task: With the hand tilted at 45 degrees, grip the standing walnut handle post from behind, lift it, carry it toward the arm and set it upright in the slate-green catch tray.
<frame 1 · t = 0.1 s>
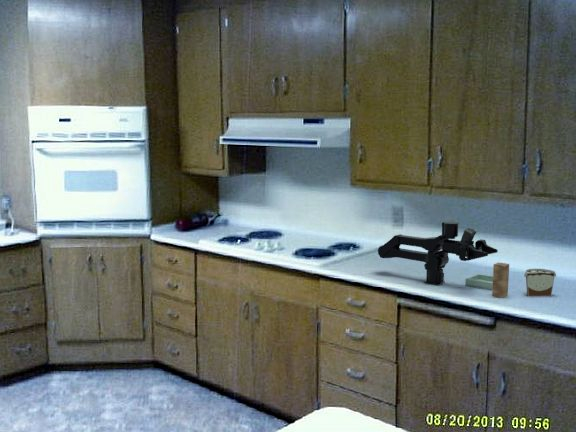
hand: (492, 252, 259), 17 cm above the worktop, tool horizontal, fingers open, 9 cm apart
catch tray: (484, 285, 273), on the worktop
food container: (536, 294, 259), on the worktop
walnut post: (499, 296, 257), on the worktop
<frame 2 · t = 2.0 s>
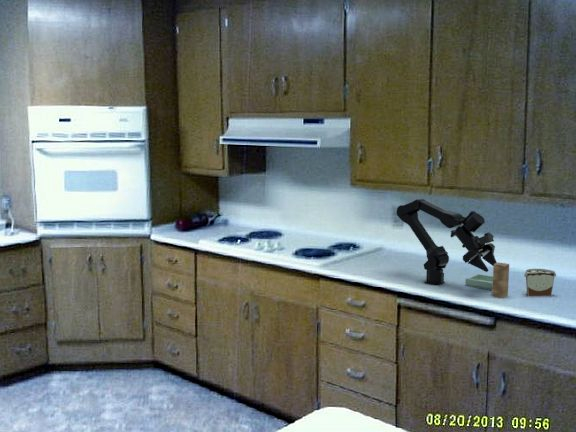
hand: (492, 269, 257), 10 cm above the worktop, tool tilted 45°, fingers open, 9 cm apart
nothing on the worktop moved.
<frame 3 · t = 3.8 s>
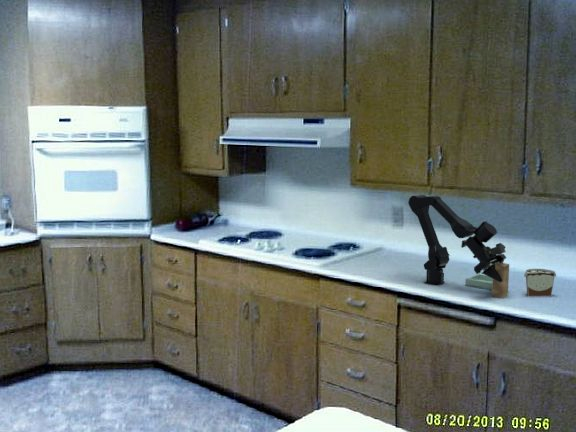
hand: (504, 280, 255), 7 cm above the worktop, tool tilted 45°, fingers closed on walnut post, 4 cm apart
walnut post: (499, 296, 257), on the worktop, touching gripper
everything else where it was.
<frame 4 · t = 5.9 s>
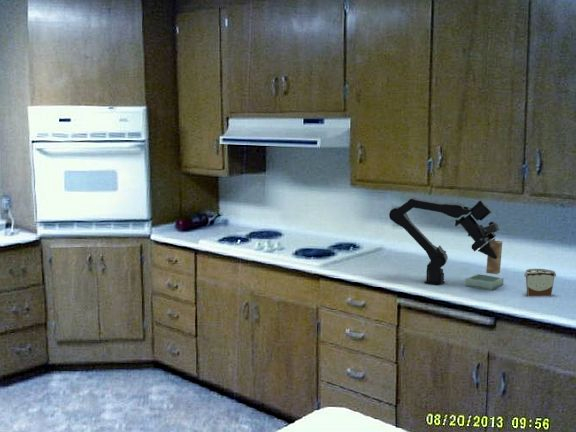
hand: (497, 257, 265), 13 cm above the worktop, tool tilted 45°, fingers closed on walnut post, 4 cm apart
walnut post: (493, 272, 267), point 7 cm above the worktop, touching gripper
everything else where it was.
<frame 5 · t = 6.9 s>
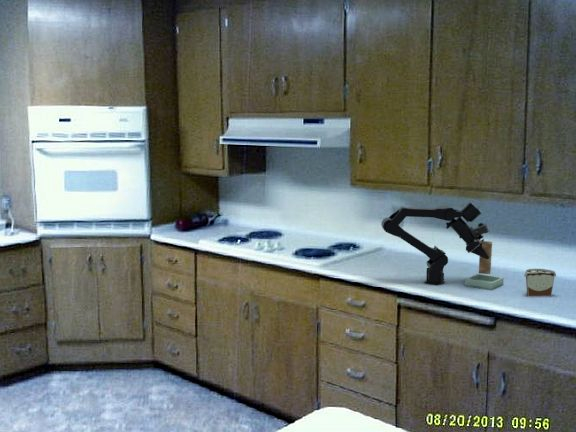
hand: (488, 257, 271), 12 cm above the worktop, tool tilted 45°, fingers closed on walnut post, 4 cm apart
walnut post: (484, 272, 273), point 5 cm above the worktop, touching gripper
everything else where it was.
when the fingers open (9 cm above the worktop, at t = 7.9 s): walnut post drops 2 cm, resting on catch tray.
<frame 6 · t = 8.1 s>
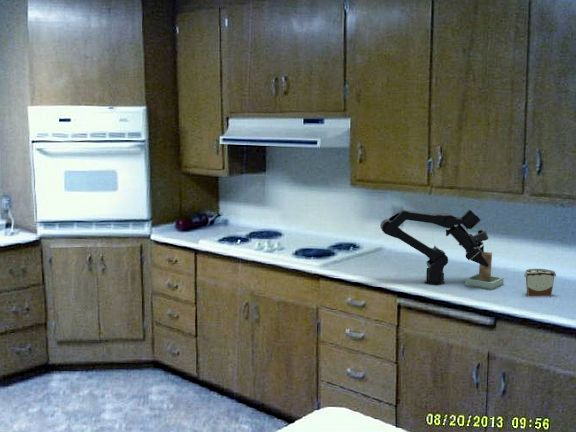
hand: (488, 264, 272), 9 cm above the worktop, tool tilted 45°, fingers open, 7 cm apart
walnut post: (484, 283, 273), point 1 cm above the worktop, touching catch tray
everything else where it was.
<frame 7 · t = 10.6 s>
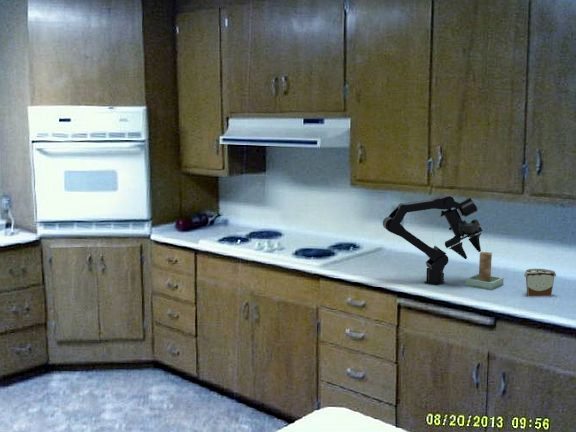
hand: (473, 255, 271), 13 cm above the worktop, tool tilted 30°, fingers open, 9 cm apart
nothing on the worktop moved.
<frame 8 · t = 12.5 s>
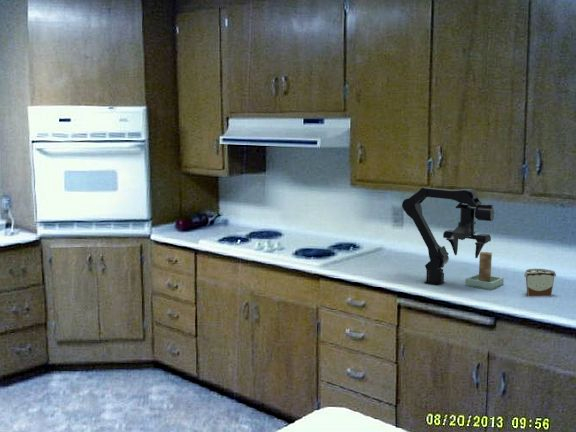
hand: (465, 256, 269), 13 cm above the worktop, tool pointing down, fingers open, 9 cm apart
nothing on the worktop moved.
at the end: walnut post inside the target area on the catch tray (0.0 cm from its centre), point 0.8 cm above the catch tray's base; walnut post tilted 0°; the gripper is holding nothing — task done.
